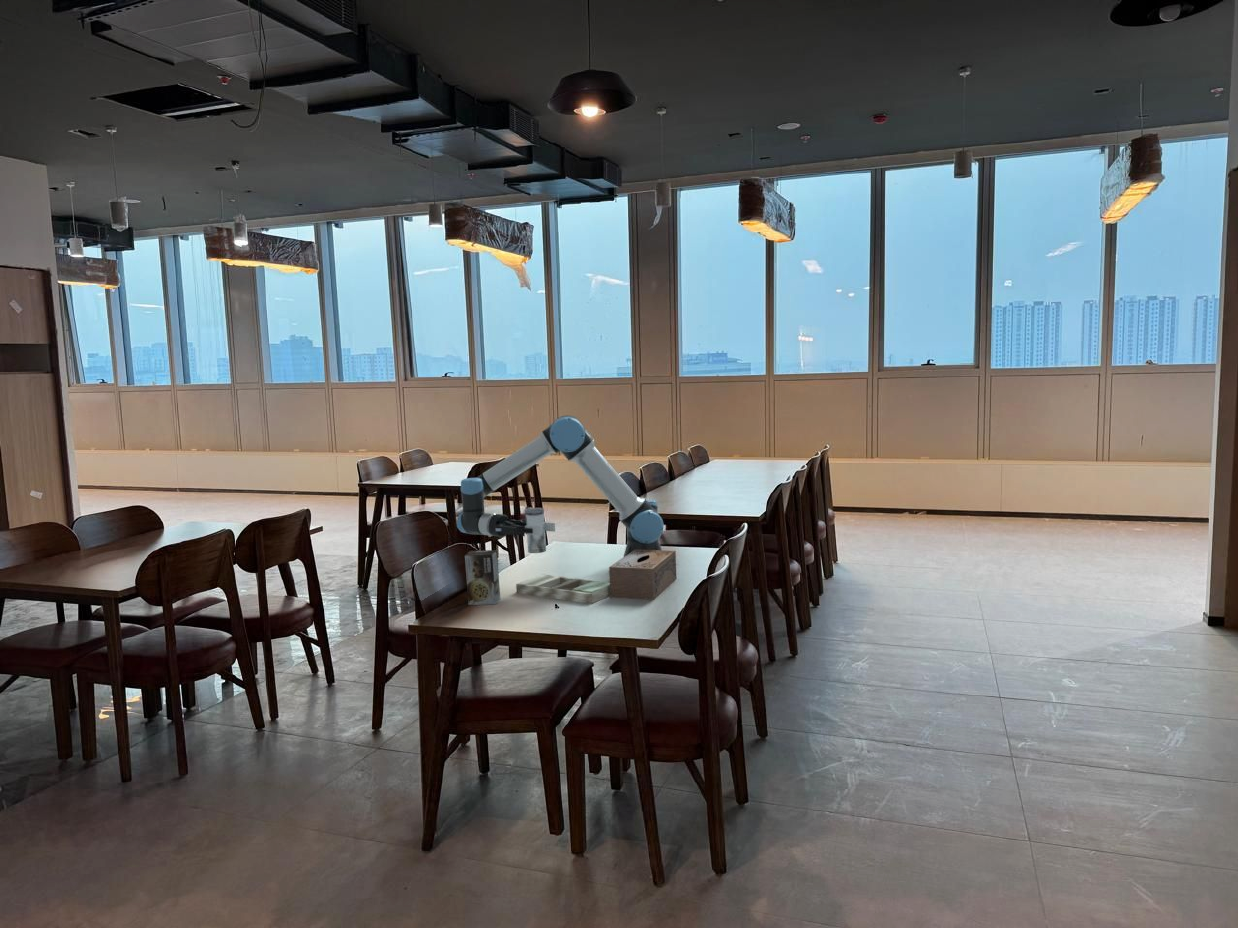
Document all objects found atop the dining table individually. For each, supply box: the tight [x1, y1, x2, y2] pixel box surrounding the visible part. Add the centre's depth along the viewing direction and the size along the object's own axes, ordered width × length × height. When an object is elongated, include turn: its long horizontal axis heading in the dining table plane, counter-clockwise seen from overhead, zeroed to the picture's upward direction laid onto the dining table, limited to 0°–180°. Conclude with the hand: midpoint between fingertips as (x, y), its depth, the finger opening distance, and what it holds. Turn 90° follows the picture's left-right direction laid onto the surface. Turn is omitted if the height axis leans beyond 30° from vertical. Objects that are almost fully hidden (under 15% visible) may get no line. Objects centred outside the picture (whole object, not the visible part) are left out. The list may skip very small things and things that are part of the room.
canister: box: [524, 507, 547, 554], centre depth 270 cm, size 6×6×14 cm
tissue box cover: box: [608, 549, 678, 601], centre depth 267 cm, size 26×14×10 cm, turn 160°
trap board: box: [515, 574, 610, 605], centre depth 266 cm, size 30×14×3 cm, turn 56°
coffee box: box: [464, 549, 501, 606], centre depth 258 cm, size 9×6×16 cm
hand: (547, 529), depth 267 cm, fingers closed on canister, 6 cm apart
